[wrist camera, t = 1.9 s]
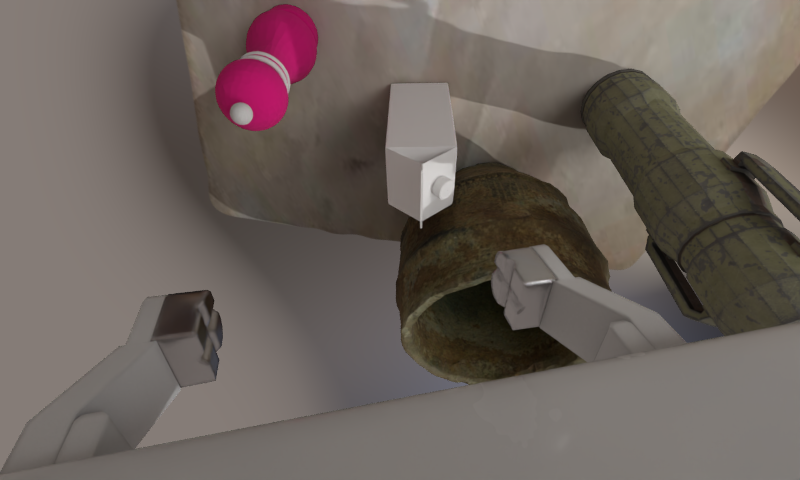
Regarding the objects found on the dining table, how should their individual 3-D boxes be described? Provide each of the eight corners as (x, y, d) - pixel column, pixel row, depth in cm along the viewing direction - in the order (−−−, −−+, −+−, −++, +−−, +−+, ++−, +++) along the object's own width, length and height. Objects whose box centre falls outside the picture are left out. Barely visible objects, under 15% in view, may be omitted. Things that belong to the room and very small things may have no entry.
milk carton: (392, 133, 56) (386, 228, 42) (390, 82, 51) (382, 170, 38) (445, 133, 56) (455, 228, 42) (448, 81, 51) (461, 170, 37)
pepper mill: (245, 15, 46) (170, 94, 32) (301, -13, 44) (247, 59, 30) (281, 74, 51) (230, 168, 36) (333, 52, 49) (300, 141, 34)
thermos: (562, 137, 56) (685, 381, 31) (609, 49, 48) (828, 281, 23) (622, 149, 57) (787, 394, 32) (678, 64, 49) (959, 303, 24)
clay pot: (390, 249, 72) (384, 386, 54) (409, 116, 54) (408, 254, 36) (533, 263, 73) (572, 400, 56) (595, 137, 56) (682, 279, 38)
